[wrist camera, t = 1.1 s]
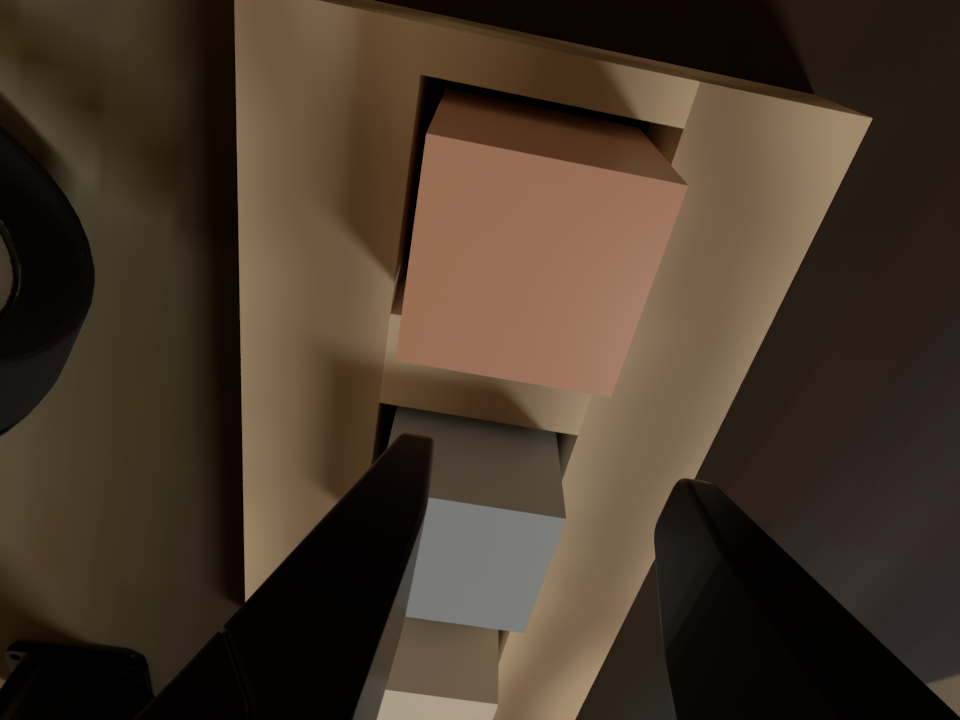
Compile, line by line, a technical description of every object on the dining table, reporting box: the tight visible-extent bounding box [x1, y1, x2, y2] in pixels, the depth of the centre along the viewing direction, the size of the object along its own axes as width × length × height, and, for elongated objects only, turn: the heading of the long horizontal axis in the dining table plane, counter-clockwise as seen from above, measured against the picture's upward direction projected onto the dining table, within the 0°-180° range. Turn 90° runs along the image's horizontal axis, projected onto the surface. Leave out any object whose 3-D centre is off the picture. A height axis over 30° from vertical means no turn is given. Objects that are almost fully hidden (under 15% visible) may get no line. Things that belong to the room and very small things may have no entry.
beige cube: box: [377, 617, 498, 720], centre depth 25 cm, size 5×5×5 cm
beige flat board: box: [234, 0, 873, 720], centre depth 22 cm, size 14×26×3 cm, turn 169°
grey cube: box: [387, 406, 566, 633], centre depth 20 cm, size 5×5×5 cm
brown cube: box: [395, 88, 688, 397], centre depth 15 cm, size 5×5×5 cm
